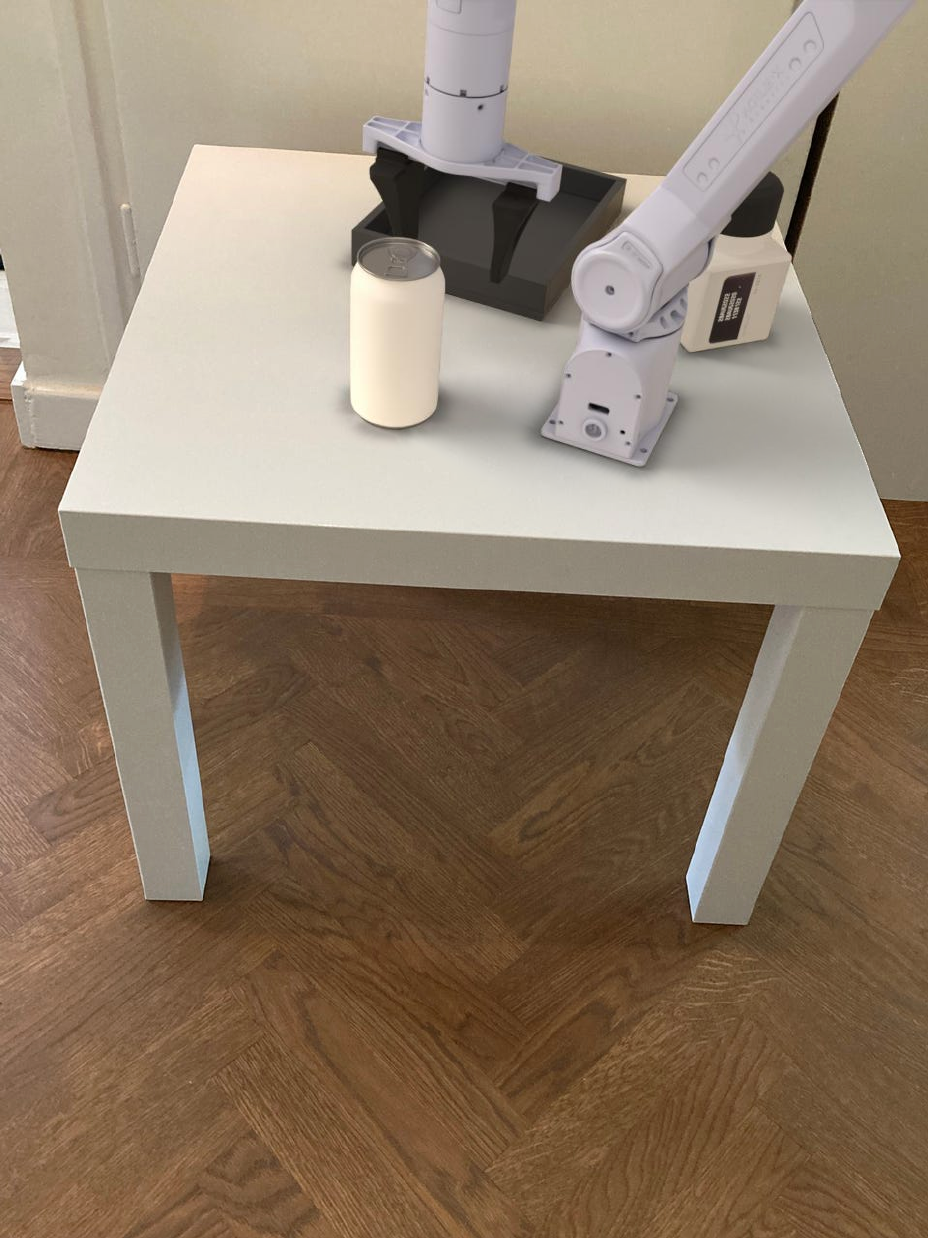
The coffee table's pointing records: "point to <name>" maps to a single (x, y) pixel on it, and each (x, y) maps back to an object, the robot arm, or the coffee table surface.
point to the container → (740, 276)
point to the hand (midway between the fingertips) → (452, 263)
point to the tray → (466, 235)
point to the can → (396, 331)
